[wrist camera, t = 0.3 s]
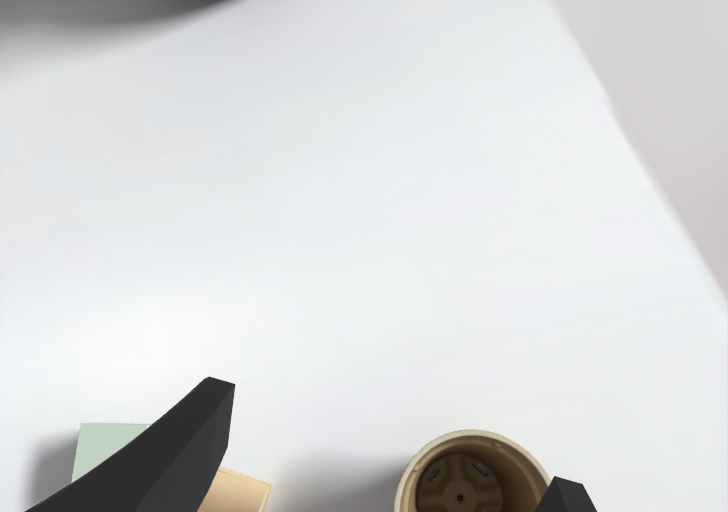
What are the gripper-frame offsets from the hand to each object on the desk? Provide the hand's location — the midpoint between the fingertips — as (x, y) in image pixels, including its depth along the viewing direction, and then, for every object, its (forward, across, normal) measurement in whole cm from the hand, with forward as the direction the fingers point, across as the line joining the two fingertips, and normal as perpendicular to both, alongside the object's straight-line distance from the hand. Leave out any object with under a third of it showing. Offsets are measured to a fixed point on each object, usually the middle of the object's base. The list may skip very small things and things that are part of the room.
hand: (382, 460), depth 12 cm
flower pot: (+19, -8, +23) cm, 31 cm away
